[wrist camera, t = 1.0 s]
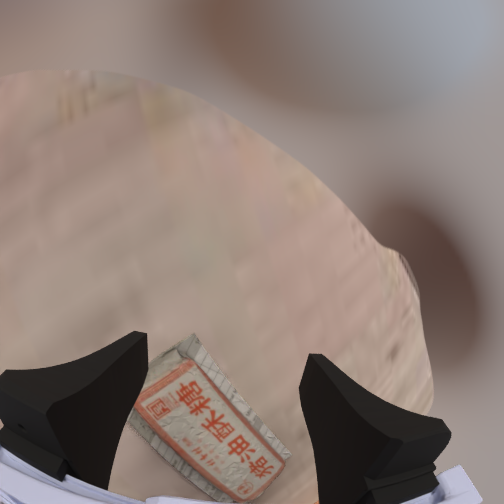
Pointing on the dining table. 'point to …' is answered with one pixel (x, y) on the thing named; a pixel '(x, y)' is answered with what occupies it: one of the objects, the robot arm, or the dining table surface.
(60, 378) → the robot arm
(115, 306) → the dining table surface
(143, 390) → the packaged product
